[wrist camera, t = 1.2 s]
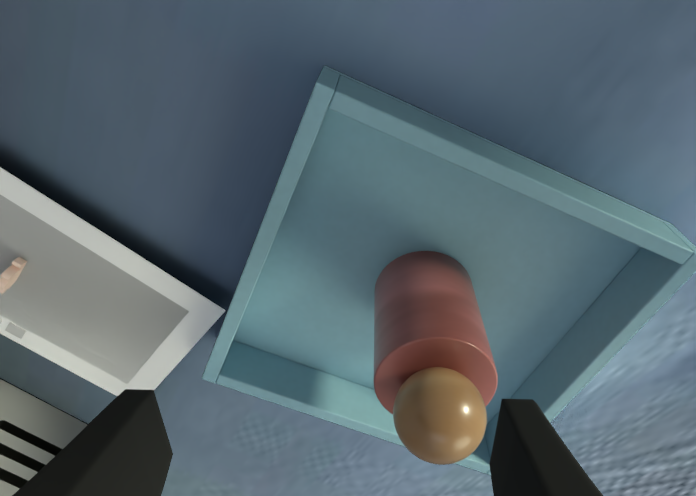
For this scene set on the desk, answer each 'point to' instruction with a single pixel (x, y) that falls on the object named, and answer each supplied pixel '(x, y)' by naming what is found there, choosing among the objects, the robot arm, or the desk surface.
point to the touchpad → (90, 296)
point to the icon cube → (29, 436)
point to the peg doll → (432, 356)
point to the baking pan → (440, 236)
